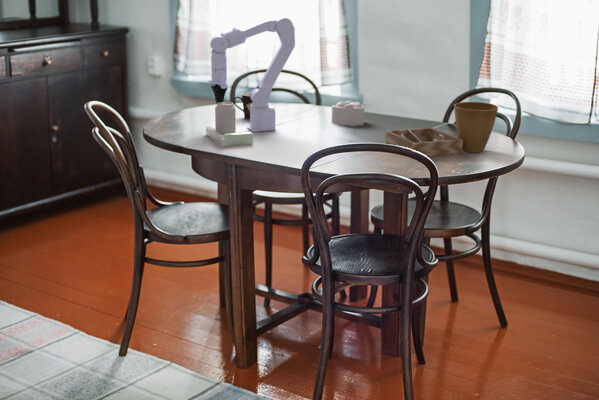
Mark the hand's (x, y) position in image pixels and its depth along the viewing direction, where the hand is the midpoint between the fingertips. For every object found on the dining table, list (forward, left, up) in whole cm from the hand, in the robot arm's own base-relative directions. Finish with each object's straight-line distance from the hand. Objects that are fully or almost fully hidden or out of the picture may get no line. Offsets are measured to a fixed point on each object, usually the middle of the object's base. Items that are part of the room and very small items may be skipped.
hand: (219, 104), depth 290 cm
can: (0, +8, -10) cm, 13 cm away
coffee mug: (-18, -20, -10) cm, 29 cm away
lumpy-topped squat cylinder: (-53, +2, -10) cm, 54 cm away
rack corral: (-60, +51, -10) cm, 79 cm away
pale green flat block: (0, +17, -10) cm, 20 cm away
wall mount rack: (-60, +50, -10) cm, 79 cm away
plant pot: (-76, +58, -10) cm, 96 cm away
